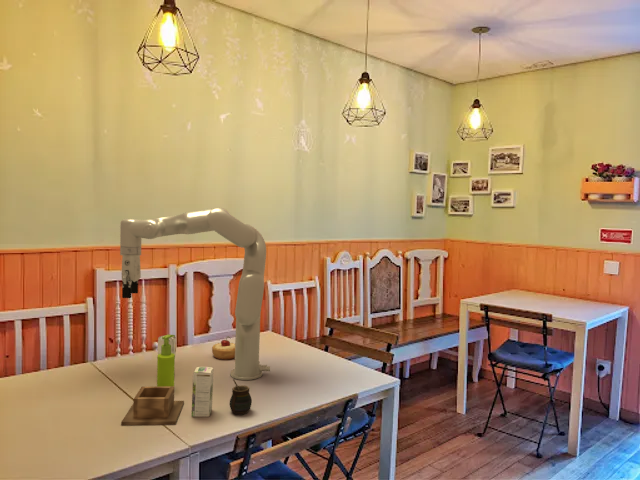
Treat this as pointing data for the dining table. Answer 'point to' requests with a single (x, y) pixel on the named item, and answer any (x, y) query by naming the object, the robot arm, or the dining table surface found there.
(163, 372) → the soap dispenser
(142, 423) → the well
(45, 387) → the dining table surface
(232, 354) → the pastry
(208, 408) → the syrup box
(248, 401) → the mate gourd
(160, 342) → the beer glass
